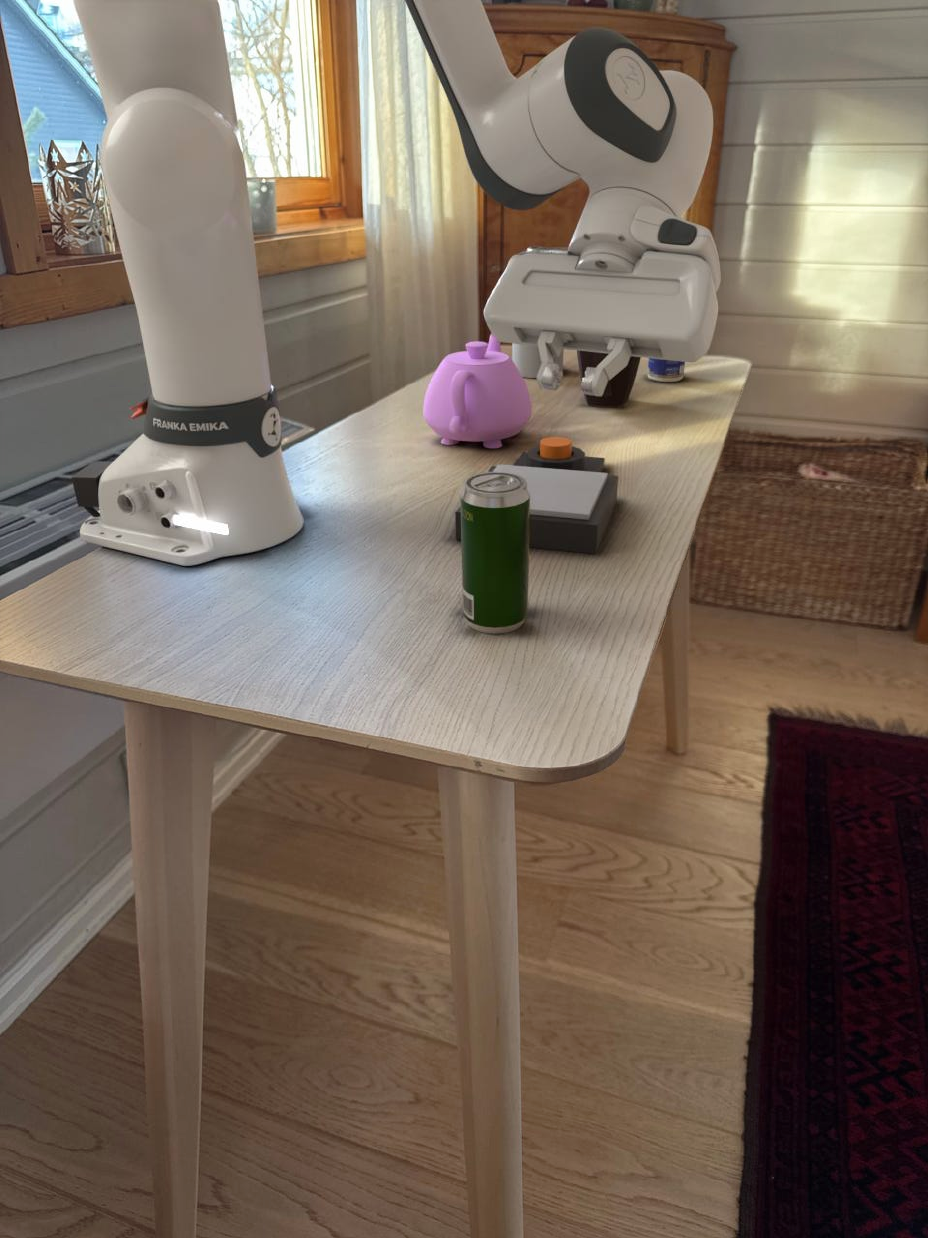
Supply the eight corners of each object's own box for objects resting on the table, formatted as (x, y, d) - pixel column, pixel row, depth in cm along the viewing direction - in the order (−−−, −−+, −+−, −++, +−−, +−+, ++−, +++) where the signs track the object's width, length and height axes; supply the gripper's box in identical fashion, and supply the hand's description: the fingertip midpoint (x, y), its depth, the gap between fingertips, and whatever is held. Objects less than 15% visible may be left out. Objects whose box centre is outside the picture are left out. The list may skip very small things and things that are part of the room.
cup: (571, 369, 151) (573, 307, 146) (548, 380, 145) (550, 315, 140) (527, 364, 155) (527, 303, 150) (503, 374, 149) (503, 311, 144)
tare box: (502, 489, 101) (502, 463, 100) (522, 460, 110) (523, 437, 108) (590, 496, 99) (591, 470, 97) (604, 467, 107) (605, 442, 106)
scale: (455, 539, 89) (454, 505, 87) (491, 491, 101) (491, 460, 99) (596, 554, 85) (597, 519, 84) (616, 502, 97) (618, 470, 95)
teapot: (452, 411, 130) (450, 324, 124) (548, 417, 126) (550, 328, 120) (403, 453, 113) (398, 355, 107) (512, 463, 109) (513, 361, 103)
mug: (643, 394, 136) (649, 312, 130) (635, 420, 124) (641, 331, 118) (577, 391, 138) (581, 310, 132) (563, 417, 126) (566, 329, 120)
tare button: (536, 459, 102) (537, 444, 101) (543, 450, 105) (543, 435, 104) (568, 462, 101) (568, 447, 100) (573, 452, 104) (574, 437, 103)
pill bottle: (640, 376, 146) (645, 312, 141) (672, 372, 147) (678, 309, 143) (657, 384, 141) (663, 318, 136) (690, 381, 143) (696, 315, 138)
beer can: (487, 642, 71) (486, 500, 65) (450, 616, 75) (446, 479, 69) (540, 623, 74) (544, 485, 68) (502, 598, 78) (503, 466, 72)
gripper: (504, 222, 80) (449, 354, 78) (730, 230, 71) (675, 381, 68) (527, 268, 86) (476, 394, 83) (739, 282, 76) (689, 424, 74)
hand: (568, 388), depth 76 cm, fingers open, 3 cm apart
